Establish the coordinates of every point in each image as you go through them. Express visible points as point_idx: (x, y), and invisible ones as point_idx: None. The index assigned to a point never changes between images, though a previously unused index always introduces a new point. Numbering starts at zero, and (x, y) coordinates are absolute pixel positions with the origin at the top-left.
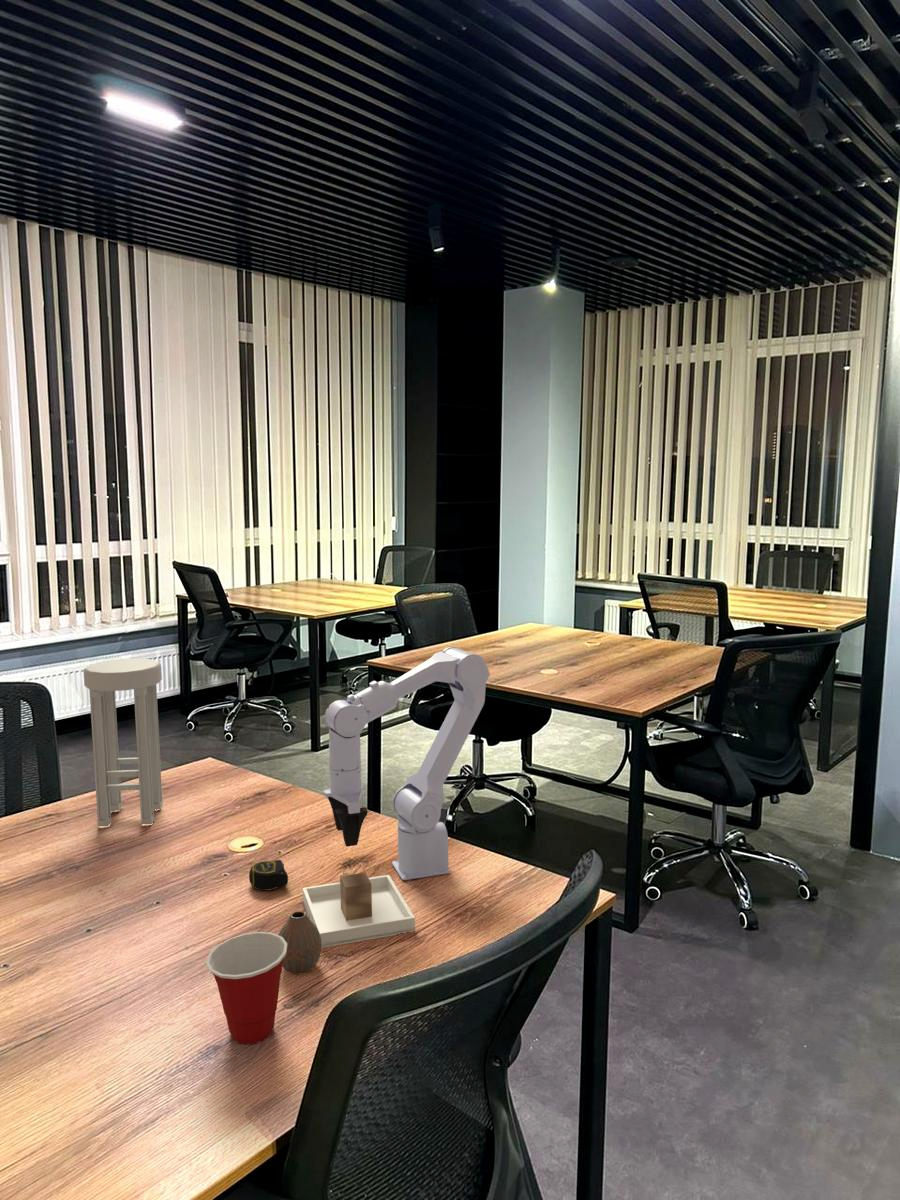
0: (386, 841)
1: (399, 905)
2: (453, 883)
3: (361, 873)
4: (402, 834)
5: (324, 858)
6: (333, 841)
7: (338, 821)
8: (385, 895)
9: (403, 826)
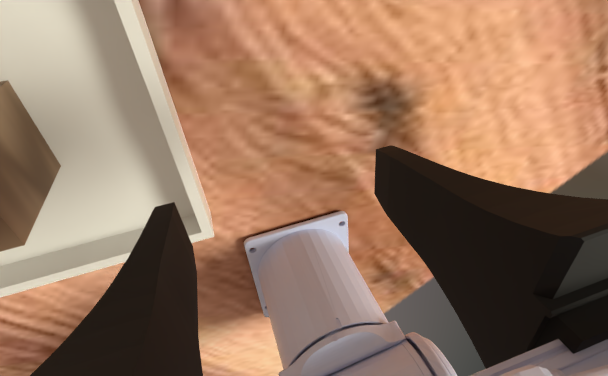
0: None
1: (45, 259)
2: (219, 322)
3: (7, 233)
4: (311, 331)
5: (450, 22)
6: (538, 55)
7: (402, 180)
8: (136, 214)
9: (328, 352)
